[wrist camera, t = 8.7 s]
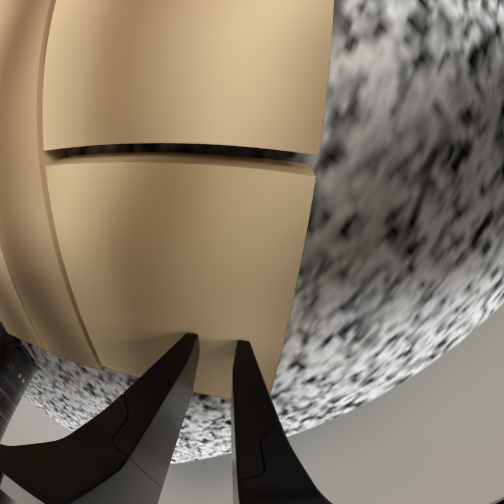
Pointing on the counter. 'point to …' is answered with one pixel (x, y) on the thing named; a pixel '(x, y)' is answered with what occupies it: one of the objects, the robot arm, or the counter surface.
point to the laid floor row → (32, 196)
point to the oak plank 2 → (182, 254)
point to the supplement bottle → (12, 376)
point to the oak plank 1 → (187, 73)
